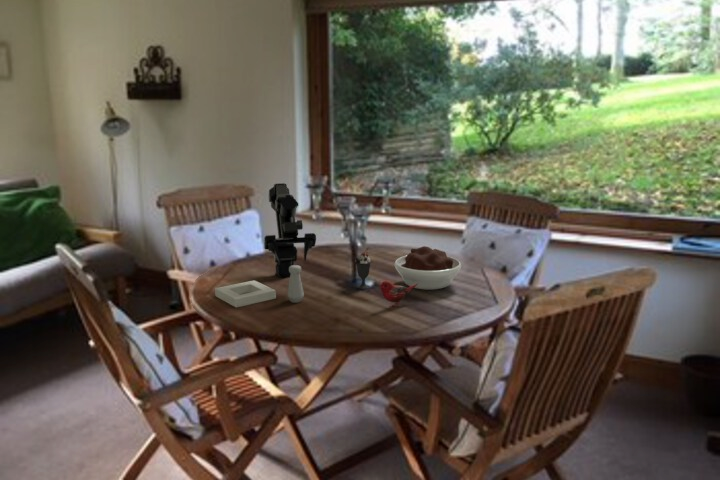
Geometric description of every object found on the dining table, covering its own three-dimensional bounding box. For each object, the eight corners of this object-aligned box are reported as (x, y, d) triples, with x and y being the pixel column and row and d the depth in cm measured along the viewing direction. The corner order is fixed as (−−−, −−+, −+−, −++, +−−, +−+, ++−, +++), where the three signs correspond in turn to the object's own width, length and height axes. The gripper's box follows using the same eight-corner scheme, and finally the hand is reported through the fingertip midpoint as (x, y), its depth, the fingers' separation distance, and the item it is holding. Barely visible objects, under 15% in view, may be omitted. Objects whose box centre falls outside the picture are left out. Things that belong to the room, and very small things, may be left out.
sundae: (374, 285, 248) (374, 247, 245) (368, 290, 242) (368, 251, 239) (358, 283, 250) (358, 246, 247) (352, 288, 244) (352, 250, 241)
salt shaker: (301, 304, 227) (300, 268, 224) (285, 303, 228) (284, 267, 225) (305, 298, 233) (305, 264, 230) (290, 297, 234) (289, 263, 231)
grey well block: (254, 287, 246) (254, 280, 245) (276, 298, 233) (275, 290, 233) (215, 296, 236) (215, 288, 236) (235, 307, 224) (235, 299, 223)
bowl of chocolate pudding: (473, 285, 248) (474, 247, 244) (433, 301, 230) (434, 260, 227) (421, 273, 265) (422, 237, 261) (381, 286, 247) (381, 248, 243)
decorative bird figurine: (376, 309, 222) (376, 281, 220) (415, 299, 232) (415, 272, 230) (382, 311, 220) (382, 283, 217) (420, 301, 230) (421, 274, 228)
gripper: (263, 213, 233) (267, 250, 225) (314, 211, 237) (320, 247, 229) (262, 230, 242) (266, 266, 234) (312, 228, 246) (317, 263, 238)
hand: (292, 260), depth 234 cm, fingers open, 9 cm apart
